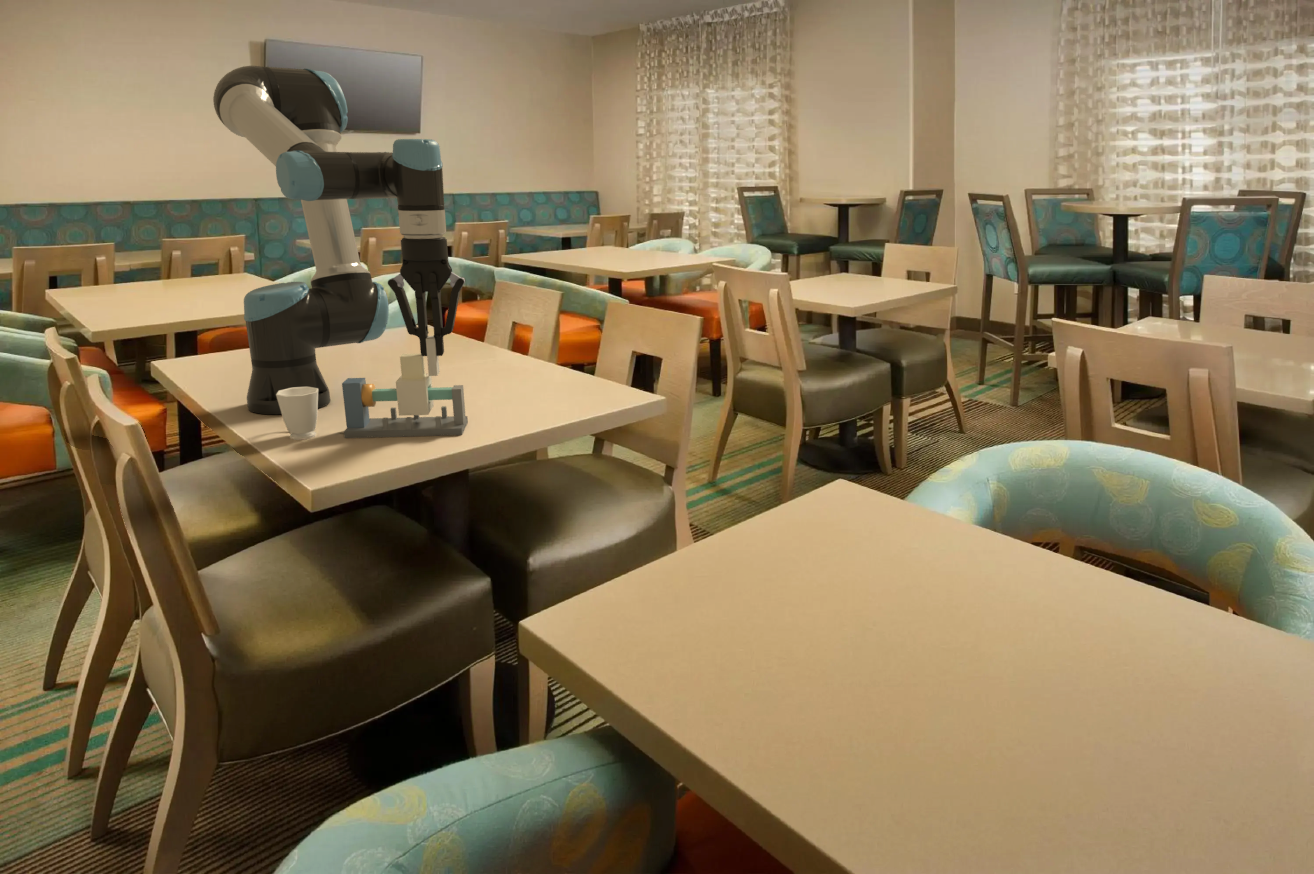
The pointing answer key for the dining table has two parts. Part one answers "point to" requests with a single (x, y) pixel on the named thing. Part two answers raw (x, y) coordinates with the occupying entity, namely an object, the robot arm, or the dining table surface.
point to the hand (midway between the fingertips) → (434, 374)
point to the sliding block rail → (366, 396)
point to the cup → (299, 411)
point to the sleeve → (413, 386)
